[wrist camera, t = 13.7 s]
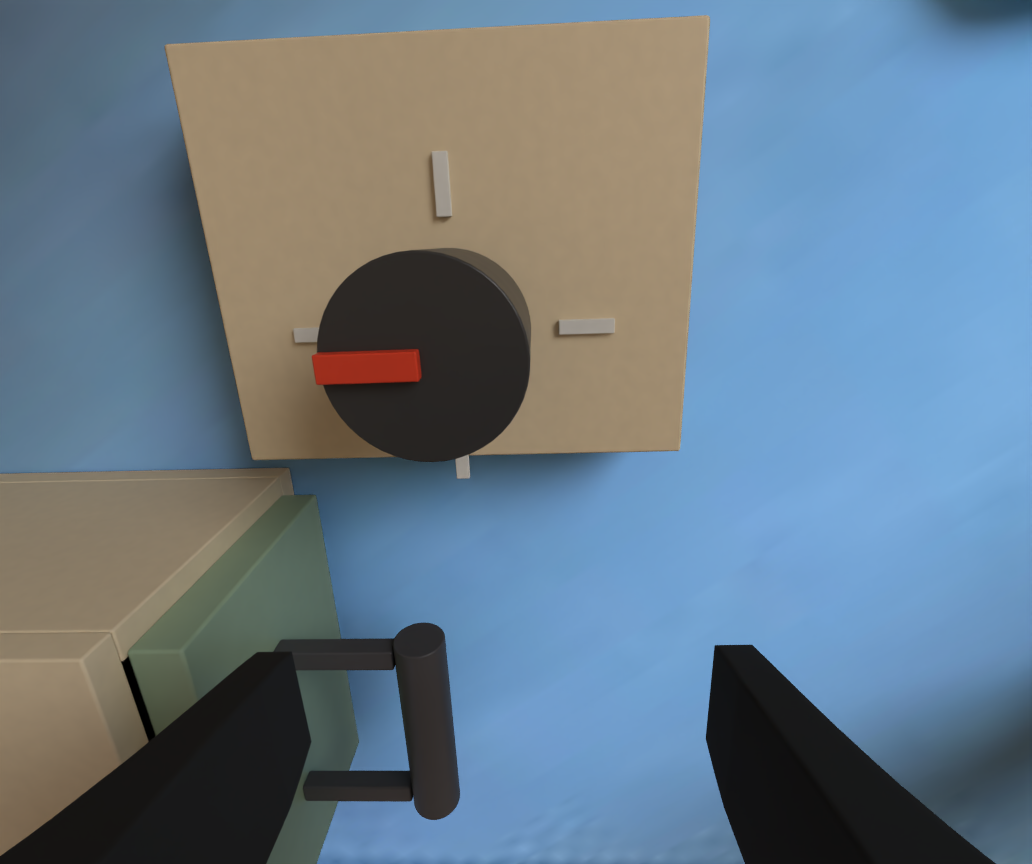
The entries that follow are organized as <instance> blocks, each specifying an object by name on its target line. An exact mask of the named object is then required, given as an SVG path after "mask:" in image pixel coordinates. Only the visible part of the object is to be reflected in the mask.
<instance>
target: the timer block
mask: <svg viewBox="0 0 1032 864" xmlns="http://www.w3.org/2000/svg"><path fill="white" fill-rule="evenodd" d="M709 27H710V17H709V16H707V15H705V16H687V17H668V18H649V19H631V20H612V21H593V22H574V23H556V24H537V25H518V26H499V27H481V28H462V29H443V30H425V31H406V32H387V33H368V34H350V35H331V36H312V37H293V38H275V39H256V40H237V41H219V42H200V43H181V44H167V45H165V51H166V56H167V61H168V66H169V70H170V75H171V80H172V84H173V89H174V94H175V99H176V103H177V108H178V113H179V117H180V122H181V127H182V131H183V136H184V141H185V146H186V150H187V155H188V160H189V164H190V169H191V174H192V179H193V183H194V188H195V193H196V197H197V202H198V207H199V211H200V216H201V221H202V226H203V230H204V235H205V240H206V244H207V249H208V254H209V258H210V263H211V268H212V273H213V277H214V282H215V287H216V291H217V296H218V301H219V306H220V310H221V315H222V320H223V324H224V329H225V334H226V338H227V343H228V348H229V353H230V357H231V362H232V367H233V371H234V376H235V381H236V386H237V390H238V395H239V400H240V404H241V409H242V414H243V418H244V423H245V428H246V433H247V437H248V442H249V447H250V451H251V456H252V459H253V460H281V459H327V458H373V457H396V456H393V455H391V454H388V453H386V452H383V451H381V450H379V449H378V448H376V447H374V446H372V445H370V444H369V443H367V442H366V441H365V440H363V439H362V438H361V437H359V436H358V435H357V434H356V433H355V432H354V431H353V430H351V429H350V428H349V427H348V426H347V424H346V423H345V422H344V421H343V420H342V419H341V417H340V416H339V415H338V413H337V412H336V410H335V409H334V407H333V406H332V404H331V402H330V400H329V398H328V396H327V394H326V392H325V389H324V386H323V385H317V384H316V380H315V374H314V368H313V363H312V355H314V354H316V353H317V337H318V331H319V325H320V322H321V319H322V316H323V313H324V310H325V308H326V306H327V304H328V302H329V300H330V298H331V297H332V295H333V294H334V292H335V291H336V289H337V288H338V287H339V286H340V285H341V283H342V282H343V281H344V280H345V279H346V278H347V277H348V276H349V275H350V274H352V273H353V272H354V271H355V270H357V269H358V268H359V267H361V266H363V265H364V264H366V263H368V262H369V261H371V260H374V259H376V258H378V257H381V256H383V255H387V254H391V253H395V252H400V251H408V250H421V249H437V248H459V249H465V250H469V251H473V252H476V253H479V254H481V255H483V256H485V257H487V258H489V259H491V260H492V261H494V262H495V263H497V264H498V265H499V266H501V267H502V268H503V269H504V270H505V271H506V272H507V273H508V274H509V275H510V276H511V277H512V278H513V280H514V281H515V283H516V284H517V285H518V287H519V288H520V290H521V292H522V294H523V296H524V298H525V301H526V304H527V306H528V310H529V315H530V321H531V356H530V376H529V382H528V387H527V390H526V394H525V397H524V400H523V402H522V404H521V406H520V408H519V410H518V412H517V414H516V415H515V417H514V418H513V420H512V422H511V423H510V424H509V425H508V426H507V428H506V429H505V430H504V431H503V432H502V433H501V434H500V435H499V436H498V437H497V438H496V439H494V440H493V441H492V442H490V443H489V444H488V445H486V446H485V447H483V448H481V449H479V450H477V451H475V452H474V453H472V454H469V455H511V454H557V453H603V452H649V451H679V449H680V442H681V427H682V413H683V399H684V384H685V370H686V356H687V342H688V327H689V313H690V299H691V284H692V270H693V256H694V242H695V227H696V213H697V199H698V184H699V170H700V156H701V142H702V127H703V113H704V99H705V84H706V70H707V56H708V42H709ZM469 455H466V456H463V457H460V458H457V459H455V460H456V473H457V479H460V478H470V466H469Z"/></svg>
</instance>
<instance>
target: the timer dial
mask: <svg viewBox="0 0 1032 864" xmlns="http://www.w3.org/2000/svg"><path fill="white" fill-rule="evenodd" d="M530 356H531V321H530V315H529V310H528V306H527V304H526V301H525V298H524V296H523V294H522V292H521V290H520V288H519V287H518V285H517V284H516V283H515V281H514V280H513V278H512V277H511V276H510V275H509V274H508V273H507V272H506V271H505V270H504V269H503V268H502V267H501V266H499V265H498V264H497V263H495V262H494V261H492V260H491V259H489V258H487V257H485V256H483V255H481V254H479V253H476V252H473V251H469V250H465V249H459V248H437V249H421V250H408V251H400V252H395V253H391V254H387V255H383V256H381V257H378V258H376V259H374V260H371V261H369V262H368V263H366V264H364V265H363V266H361V267H359V268H358V269H357V270H355V271H354V272H353V273H352V274H350V275H349V276H348V277H347V278H346V279H345V280H344V281H343V282H342V283H341V285H340V286H339V287H338V288H337V289H336V291H335V292H334V294H333V295H332V297H331V298H330V300H329V302H328V304H327V306H326V308H325V310H324V313H323V316H322V319H321V322H320V325H319V331H318V337H317V353H316V354H314V355H312V363H313V368H314V374H315V380H316V384H317V385H323V386H324V389H325V392H326V394H327V396H328V398H329V400H330V402H331V404H332V406H333V407H334V409H335V410H336V412H337V413H338V415H339V416H340V417H341V419H342V420H343V421H344V422H345V423H346V424H347V426H348V427H349V428H350V429H351V430H353V431H354V432H355V433H356V434H357V435H358V436H359V437H361V438H362V439H363V440H365V441H366V442H367V443H369V444H370V445H372V446H374V447H376V448H378V449H379V450H381V451H383V452H386V453H388V454H391V455H393V456H396V457H400V458H403V459H407V460H413V461H420V462H438V461H448V460H452V459H457V458H460V457H463V456H466V455H469V454H472V453H474V452H475V451H477V450H479V449H481V448H483V447H485V446H486V445H488V444H489V443H490V442H492V441H493V440H494V439H496V438H497V437H498V436H499V435H500V434H501V433H502V432H503V431H504V430H505V429H506V428H507V426H508V425H509V424H510V423H511V422H512V420H513V418H514V417H515V415H516V414H517V412H518V410H519V408H520V406H521V404H522V402H523V400H524V397H525V394H526V390H527V387H528V382H529V376H530Z"/></svg>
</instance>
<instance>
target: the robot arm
mask: <svg viewBox="0 0 1032 864" xmlns="http://www.w3.org/2000/svg"><path fill="white" fill-rule="evenodd" d="M706 741H707V745H708V749H709V753H710V757H711V761H712V765H713V769H714V773H715V776H716V780H717V784H718V787H719V791H720V794H721V798H722V802H723V805H724V808H725V811H726V814H727V816H728V819H729V822H730V825H731V827H732V830H733V833H734V835H735V838H736V841H737V843H738V846H739V849H740V851H741V854H742V857H743V859H744V862H745V864H996V863H994V862H993V861H992V860H991V859H989V858H988V857H987V856H985V855H984V854H983V853H982V852H980V851H979V850H978V849H977V848H975V847H974V846H973V845H972V844H970V843H969V842H968V841H967V840H965V839H964V838H963V837H962V836H960V835H959V834H958V833H957V832H956V831H954V830H953V829H952V828H951V827H949V826H948V825H947V824H946V823H945V822H944V821H942V820H941V819H940V818H939V817H938V816H937V815H935V814H934V813H933V812H932V811H931V810H929V809H928V808H927V807H926V806H925V805H924V804H922V803H921V802H920V801H919V800H918V799H916V798H915V797H914V796H913V795H912V794H911V793H909V792H908V791H907V790H906V789H905V788H904V787H902V786H901V785H900V784H899V783H898V782H897V781H895V780H894V779H893V778H892V777H891V776H890V775H889V774H888V773H886V772H885V771H884V770H883V769H882V768H881V767H880V766H879V765H877V764H876V763H875V762H874V761H873V760H872V759H871V758H870V757H869V756H868V755H867V754H865V753H864V752H863V751H862V750H861V749H860V748H859V747H858V746H857V745H856V744H855V743H854V742H852V741H851V740H850V739H849V738H848V737H847V736H846V735H845V734H844V733H843V732H842V731H841V730H839V729H838V728H837V727H836V726H835V725H834V724H833V723H832V722H831V721H830V720H829V719H828V718H827V717H826V716H825V715H824V714H823V713H822V712H821V711H819V710H818V709H817V708H816V707H815V706H814V705H813V704H812V703H811V702H810V701H809V700H808V699H807V698H806V697H805V696H804V695H803V694H802V693H801V692H800V691H799V690H798V689H797V688H796V687H795V686H794V685H793V684H792V683H791V682H790V681H789V680H788V679H787V678H786V677H785V676H784V675H783V674H781V673H780V672H779V671H778V670H777V669H776V668H775V667H774V666H773V665H772V664H771V663H770V662H769V661H768V660H767V659H766V658H765V657H764V656H763V655H762V654H761V653H760V652H759V651H758V650H757V649H756V648H755V647H754V646H753V645H715V649H714V659H713V669H712V680H711V690H710V700H709V711H708V721H707V731H706ZM311 742H312V741H311V737H310V732H309V728H308V723H307V719H306V714H305V709H304V705H303V700H302V696H301V691H300V687H299V682H298V678H297V673H296V669H295V664H294V659H293V655H292V651H287V652H257V653H255V654H254V655H253V656H252V657H250V658H249V659H248V660H246V661H245V662H244V663H243V664H241V665H240V666H239V667H238V668H237V669H235V670H234V671H233V672H232V673H230V674H229V675H228V676H227V677H226V678H225V679H223V680H222V681H221V682H220V683H219V684H217V685H216V686H215V687H214V688H213V689H211V690H210V691H209V692H208V693H207V694H206V695H204V696H203V697H202V698H201V699H200V700H198V701H197V702H196V703H195V704H194V705H193V706H191V707H190V708H189V709H188V710H187V711H185V712H184V713H183V714H182V715H181V716H179V717H178V718H177V719H176V720H175V721H173V722H172V723H171V724H170V725H169V726H167V727H166V728H165V729H164V730H162V731H161V732H160V733H159V734H158V735H156V736H155V737H154V738H153V739H152V740H150V741H149V742H148V743H147V744H146V745H144V746H143V747H142V748H141V749H140V750H138V751H137V752H136V753H135V754H133V755H132V756H131V757H130V758H129V759H127V760H126V761H125V762H123V763H122V764H121V765H120V766H118V767H117V768H116V769H114V770H113V771H112V772H111V773H109V774H108V775H107V776H105V777H104V778H103V779H102V780H100V781H99V782H98V783H96V784H95V785H94V786H93V787H91V788H90V789H89V790H87V791H86V792H85V793H84V794H82V795H81V796H80V797H79V798H77V799H76V800H75V801H73V802H72V803H71V804H70V805H68V806H67V807H66V808H64V809H63V810H62V811H61V812H59V813H58V814H57V815H55V816H54V817H53V818H52V819H50V820H49V821H47V822H46V823H45V824H43V825H42V826H41V827H39V828H38V829H37V830H35V831H34V832H33V833H31V834H30V835H29V836H27V837H26V838H24V839H23V840H22V841H20V842H19V843H18V844H16V845H15V846H13V847H12V848H11V849H9V850H8V851H6V852H5V853H4V854H2V855H1V856H0V864H266V863H267V861H268V859H269V857H270V854H271V852H272V850H273V847H274V845H275V843H276V840H277V838H278V836H279V834H280V831H281V829H282V827H283V824H284V822H285V820H286V817H287V815H288V813H289V810H290V808H291V805H292V802H293V799H294V796H295V793H296V790H297V787H298V784H299V781H300V778H301V775H302V771H303V768H304V765H305V762H306V758H307V755H308V752H309V748H310V745H311Z"/></svg>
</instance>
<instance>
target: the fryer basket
mask: <svg viewBox="0 0 1032 864" xmlns="http://www.w3.org/2000/svg"><path fill="white" fill-rule="evenodd" d="M287 651H292V655H293V659H294V664H295V669H296V673H297V678H298V682H299V687H300V691H301V696H302V700H303V705H304V709H305V714H306V719H307V723H308V728H309V732H310V737H311V741H312V742H311V745H310V748H309V752H308V755H307V758H306V762H305V765H304V768H303V771H302V775H301V778H300V781H299V784H298V787H297V790H296V793H295V796H294V799H293V802H292V805H291V808H290V810H289V813H288V815H287V817H286V820H285V822H284V824H283V827H282V829H281V831H280V834H279V836H278V838H277V840H276V843H275V845H274V847H273V850H272V852H271V854H270V857H269V859H268V861H267V863H266V864H317V861H318V858H319V855H320V852H321V849H322V846H323V844H324V841H325V838H326V835H327V832H328V829H329V826H330V823H331V821H332V818H333V815H334V812H335V809H336V806H337V803H338V801H411V800H412V798H413V797H414V805H415V808H416V810H417V812H418V813H419V814H420V815H421V816H422V817H424V818H426V819H430V820H437V819H441V818H444V817H446V816H447V815H449V814H450V813H451V812H452V811H453V810H454V809H455V808H456V806H457V804H458V802H459V798H460V788H459V778H458V767H457V757H456V747H455V736H454V726H453V716H452V705H451V695H450V684H449V674H448V664H447V653H446V643H445V635H444V632H443V631H442V629H441V628H440V627H438V626H437V625H434V624H431V623H417V624H413V625H410V626H408V627H406V628H404V629H402V630H401V631H400V632H399V633H398V634H397V635H396V637H395V639H341V636H340V630H339V624H338V618H337V613H336V607H335V601H334V595H333V590H332V584H331V578H330V572H329V567H328V561H327V555H326V550H325V544H324V538H323V532H322V527H321V521H320V515H319V509H318V504H317V498H316V495H283V496H281V497H280V498H279V499H278V500H277V501H276V502H275V503H274V504H273V505H272V506H271V507H270V508H269V509H268V510H267V511H266V512H265V513H264V514H263V515H262V516H261V517H260V518H259V519H258V520H257V521H256V522H255V523H254V524H253V525H252V526H251V527H250V528H249V529H248V530H247V531H246V532H245V533H244V534H243V535H242V536H241V537H240V538H239V539H238V540H237V541H236V542H235V543H234V544H233V545H232V546H231V547H230V548H229V549H228V550H227V551H226V552H225V553H224V554H223V555H222V556H221V557H220V558H219V559H218V560H217V561H216V562H215V563H214V564H213V565H212V566H211V567H210V568H209V569H208V570H207V571H206V572H205V573H204V574H203V575H202V576H201V577H200V578H199V579H198V580H197V582H196V583H195V584H194V585H193V586H192V587H191V588H190V589H189V590H188V591H187V592H186V593H185V594H184V595H183V596H182V597H181V598H180V599H179V600H178V601H177V602H176V603H175V604H174V605H173V606H172V607H171V608H170V609H169V610H168V611H167V612H166V613H165V614H164V615H163V616H162V617H161V618H160V619H159V620H158V621H157V622H156V623H155V624H154V625H153V626H152V627H151V628H150V629H149V630H148V631H147V632H146V633H145V634H144V635H143V636H142V637H141V638H140V639H139V640H138V641H137V642H136V643H135V644H134V645H133V646H132V647H131V648H130V649H129V651H128V657H127V658H126V659H125V660H124V661H121V663H122V666H123V669H124V671H125V674H126V677H127V680H128V683H129V686H130V689H131V692H132V695H133V697H134V700H135V703H136V706H137V709H138V712H139V715H140V718H141V721H142V724H143V726H144V729H145V732H146V735H147V738H148V741H150V740H152V739H153V738H154V737H155V736H156V735H158V734H159V733H160V732H161V731H162V730H164V729H165V728H166V727H167V726H169V725H170V724H171V723H172V722H173V721H175V720H176V719H177V718H178V717H179V716H181V715H182V714H183V713H184V712H185V711H187V710H188V709H189V708H190V707H191V706H193V705H194V704H195V703H196V702H197V701H198V700H200V699H201V698H202V697H203V696H204V695H206V694H207V693H208V692H209V691H210V690H211V689H213V688H214V687H215V686H216V685H217V684H219V683H220V682H221V681H222V680H223V679H225V678H226V677H227V676H228V675H229V674H230V673H232V672H233V671H234V670H235V669H237V668H238V667H239V666H240V665H241V664H243V663H244V662H245V661H246V660H248V659H249V658H250V657H252V656H253V655H254V654H255V653H257V652H287ZM395 665H396V672H397V680H398V687H399V694H400V702H401V709H402V716H403V724H404V731H405V739H406V746H407V753H408V761H409V768H410V771H349V769H350V766H351V763H352V760H353V757H354V755H355V752H356V749H357V746H358V743H359V739H358V733H357V727H356V722H355V716H354V710H353V704H352V699H351V693H350V687H349V681H348V676H347V670H393V669H394V667H395Z"/></svg>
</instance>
